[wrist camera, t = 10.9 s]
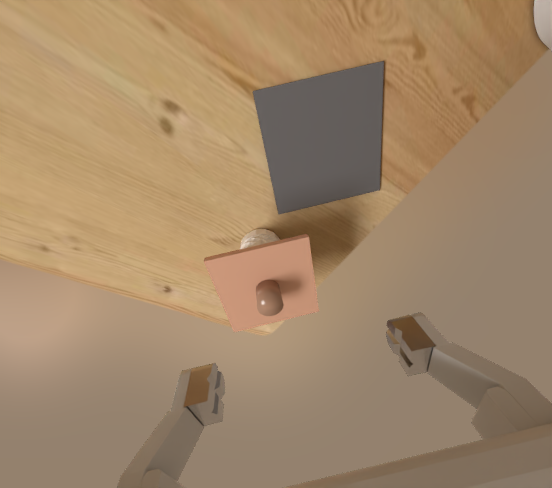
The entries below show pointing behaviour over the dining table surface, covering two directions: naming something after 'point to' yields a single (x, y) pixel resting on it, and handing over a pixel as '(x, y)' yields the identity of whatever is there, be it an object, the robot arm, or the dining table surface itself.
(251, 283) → the lid
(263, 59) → the dining table surface
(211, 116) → the dining table surface
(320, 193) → the mat
